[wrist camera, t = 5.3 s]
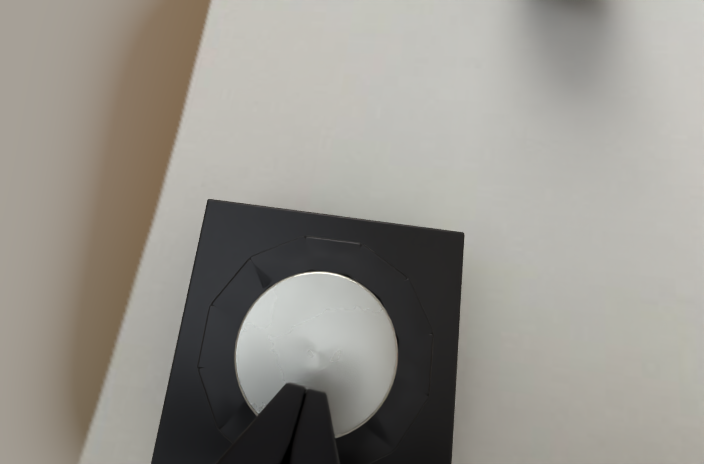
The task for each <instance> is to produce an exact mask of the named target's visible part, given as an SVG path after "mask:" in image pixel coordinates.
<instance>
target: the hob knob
mask: <svg viewBox="0 0 704 464" xmlns="http://www.w3.org/2000/svg"><path fill="white" fill-rule="evenodd" d="M397 365H398V344H397V337H396V333H395V329H394V326H393V324H392V321H391V319H390V317H389V315H388V313H387V311H386V309H385V308H384V306H383V305H382V303H381V302H380V301H379V300H378V298H377V297H376V296H375V295H374V294H373V293H372V292H371V291H370V290H368V289H367V288H366V287H365V286H363V285H362V284H360V283H359V282H357V281H355V280H353V279H351V278H349V277H347V276H344V275H341V274H337V273H332V272H325V271H311V272H304V273H299V274H295V275H292V276H289V277H287V278H285V279H283V280H280V281H278V282H277V283H275V284H274V285H272V286H271V287H269V288H268V289H267V290H266V291H264V292H263V293H262V294H261V295H260V296H259V297H258V298H257V299H256V300H255V301H254V303H253V304H252V305H251V307H250V308H249V310H248V311H247V313H246V315H245V317H244V318H243V320H242V323H241V325H240V328H239V330H238V334H237V338H236V342H235V351H234V366H235V373H236V378H237V381H238V385H239V388H240V390H241V393H242V395H243V397H244V399H245V401H246V402H247V404H248V406H249V407H250V408H251V410H252V411H253V412H254V413H255V415H256V416H257V415H258V414H259V413H260V412H261V411H262V410H263V409H264V407H265V406H266V405H267V404H268V403H269V402H270V401H271V400H272V398H273V397H274V396H275V395H276V394H277V393H278V392H279V390H280V389H281V388H282V387H283V386H284V385H285V384H286V383H288V382H292V383H296V384H300V385H303V386H305V387H306V390H307V388H309V387H311V388H315V389H319V390H323V391H325V392H326V393H327V396H328V402H329V407H330V412H331V418H332V423H333V429H334V434H335V438H338V437H341V436H343V435H346V434H348V433H350V432H352V431H354V430H356V429H358V428H359V427H361V426H362V425H363V424H364V423H366V422H367V421H368V420H369V419H370V418H371V417H372V416H373V415H374V414H375V413H376V412H377V411H378V410H379V408H380V407H381V406H382V405H383V403H384V401H385V400H386V398H387V396H388V395H389V392H390V390H391V388H392V385H393V383H394V379H395V376H396V371H397ZM305 393H306V392H305Z"/></svg>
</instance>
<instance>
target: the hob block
mask: <svg viewBox="0 0 704 464" xmlns="http://www.w3.org/2000/svg"><path fill="white" fill-rule="evenodd" d="M463 250H464V233H463V232H456V231H448V230H441V229H433V228H426V227H418V226H410V225H403V224H395V223H388V222H380V221H372V220H365V219H357V218H350V217H342V216H335V215H327V214H319V213H312V212H304V211H297V210H289V209H282V208H274V207H266V206H259V205H251V204H244V203H236V202H229V201H221V200H213V199H208V201H207V205H206V210H205V214H204V219H203V224H202V228H201V233H200V238H199V242H198V247H197V252H196V256H195V261H194V266H193V270H192V275H191V280H190V284H189V289H188V294H187V298H186V303H185V308H184V312H183V317H182V322H181V326H180V331H179V336H178V340H177V345H176V349H175V354H174V359H173V363H172V368H171V373H170V377H169V382H168V387H167V391H166V396H165V401H164V405H163V410H162V415H161V419H160V424H159V429H158V433H157V438H156V443H155V447H154V452H153V457H152V461H151V464H215V463H216V462H217V461H218V460H219V459H220V458H221V456H222V455H223V454H224V453H225V452H226V451H227V450H228V448H229V447H230V446H231V445H232V444H233V443H234V442H235V440H236V439H237V438H238V437H239V436H240V435H241V434H242V433H243V431H244V430H245V429H246V428H247V427H248V426H249V425H250V423H251V422H252V421H253V420H254V419H255V418H256V417H257V416H256V415H255V413H254V412H253V411H252V410H251V408H250V407H249V406H248V404H247V402H246V401H245V399H244V397H243V395H242V393H241V390H240V388H239V385H238V381H237V378H236V373H235V366H234V351H235V342H236V338H237V334H238V330H239V328H240V325H241V323H242V320H243V318H244V317H245V315H246V313H247V311H248V310H249V308H250V307H251V305H252V304H253V303H254V301H255V300H256V299H257V298H258V297H259V296H260V295H261V294H262V293H263V292H264V291H266V290H267V289H268V288H269V287H271V286H272V285H274V284H275V283H277V282H278V281H280V280H283V279H285V278H287V277H289V276H292V275H295V274H299V273H304V272H311V271H325V272H332V273H337V274H341V275H344V276H347V277H349V278H351V279H353V280H355V281H357V282H359V283H360V284H362V285H363V286H365V287H366V288H367V289H368V290H370V291H371V292H372V293H373V294H374V295H375V296H376V297H377V298H378V300H379V301H380V302H381V303H382V305H383V306H384V308H385V309H386V311H387V313H388V315H389V317H390V319H391V321H392V324H393V326H394V329H395V333H396V337H397V344H398V365H397V371H396V376H395V379H394V383H393V385H392V388H391V390H390V392H389V395H388V396H387V398H386V400H385V401H384V403H383V405H382V406H381V407H380V408H379V410H378V411H377V412H376V413H375V414H374V415H373V416H372V417H371V418H370V419H369V420H368V421H367V422H366V423H364V424H363V425H362V426H361V427H359V428H358V429H356V430H354V431H352V432H350V433H348V434H346V435H343V436H341V437H338V438H335V440H336V445H337V451H338V456H339V462H340V464H451V461H452V444H453V426H454V409H455V391H456V373H457V356H458V338H459V320H460V303H461V285H462V267H463Z"/></svg>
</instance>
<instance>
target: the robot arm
mask: <svg viewBox="0 0 704 464" xmlns="http://www.w3.org/2000/svg"><path fill="white" fill-rule="evenodd" d="M305 392H306V393H305ZM215 464H340V462H339V456H338V451H337V445H336V440H335V434H334V429H333V423H332V418H331V412H330V407H329V402H328V396H327V393H326V392H325V391H323V390H319V389H315V388H311V387H309V388H307V390H306V387H305V386H303V385H300V384H296V383H292V382H288V383H286V384H285V385H284V386H283V387H282V388H281V389H280V390H279V392H278V393H277V394H276V395H275V396H274V397H273V398H272V400H271V401H270V402H269V403H268V404H267V405H266V406H265V407H264V409H263V410H262V411H261V412H260V413H259V414H258V415H257V417H256V418H255V419H254V420H253V421H252V422H251V423H250V425H249V426H248V427H247V428H246V429H245V430H244V431H243V433H242V434H241V435H240V436H239V437H238V438H237V439H236V440H235V442H234V443H233V444H232V445H231V446H230V447H229V448H228V450H227V451H226V452H225V453H224V454H223V455H222V456H221V458H220V459H219V460H218V461H217V462H216V463H215Z"/></svg>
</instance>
